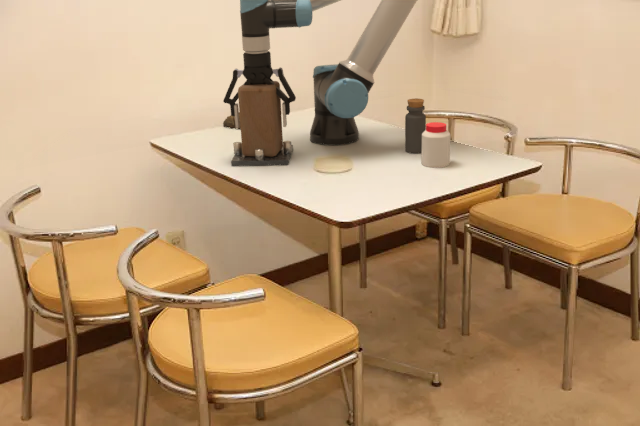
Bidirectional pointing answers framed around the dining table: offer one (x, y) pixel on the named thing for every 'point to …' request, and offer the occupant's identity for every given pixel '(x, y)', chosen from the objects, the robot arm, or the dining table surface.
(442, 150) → the pill bottle
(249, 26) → the robot arm
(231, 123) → the brown rounded lump
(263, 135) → the wooden block
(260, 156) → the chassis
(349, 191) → the dining table surface
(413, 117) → the bottle
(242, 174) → the dining table surface
